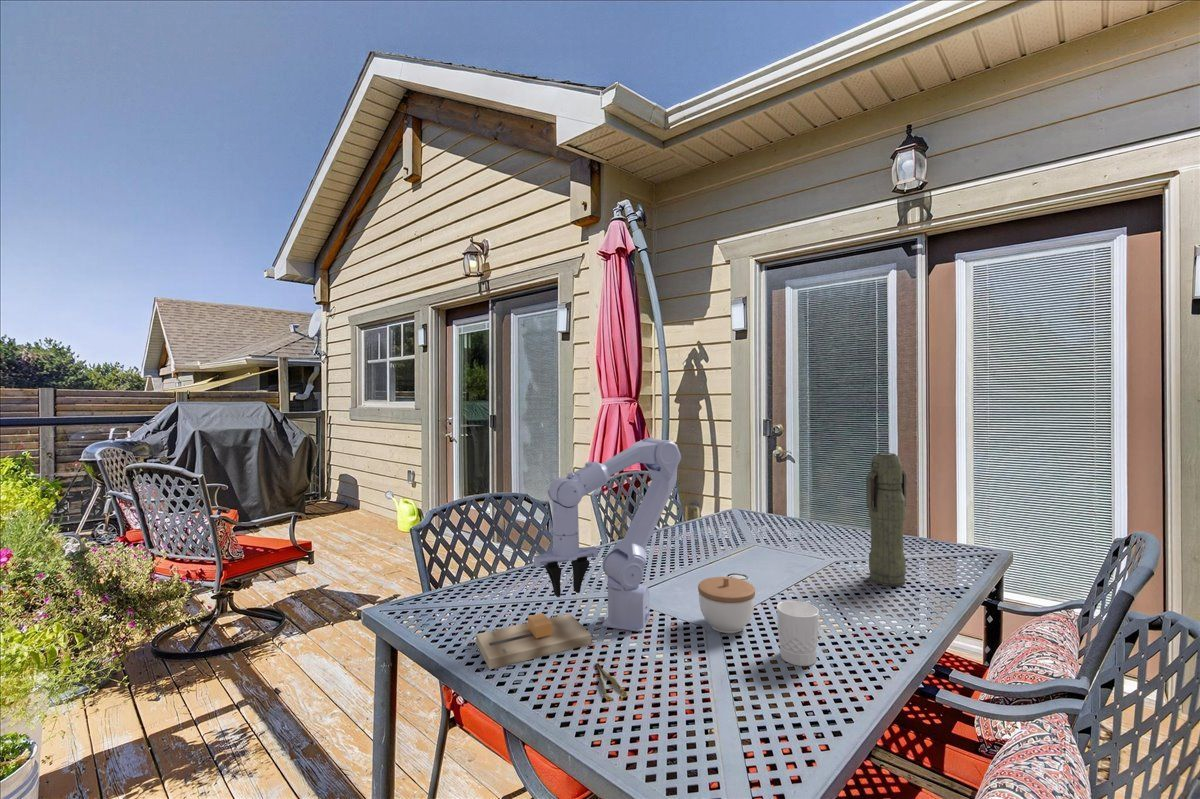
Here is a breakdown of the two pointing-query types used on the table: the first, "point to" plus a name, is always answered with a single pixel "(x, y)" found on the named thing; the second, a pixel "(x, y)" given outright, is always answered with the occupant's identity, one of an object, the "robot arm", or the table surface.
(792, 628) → the white cup
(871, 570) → the olive green statue
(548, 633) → the fader knob
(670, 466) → the robot arm
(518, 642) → the fader panel
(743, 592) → the lidded bowl
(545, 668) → the table surface
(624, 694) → the tongs
